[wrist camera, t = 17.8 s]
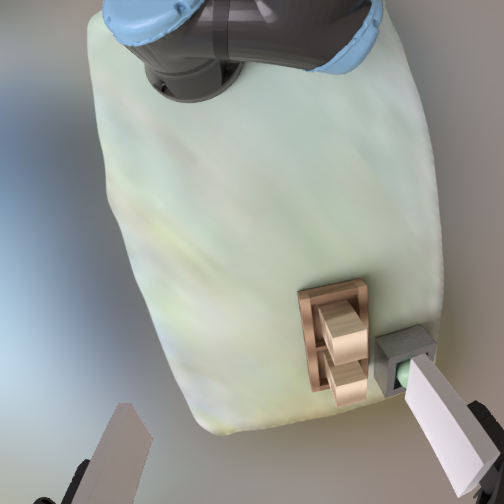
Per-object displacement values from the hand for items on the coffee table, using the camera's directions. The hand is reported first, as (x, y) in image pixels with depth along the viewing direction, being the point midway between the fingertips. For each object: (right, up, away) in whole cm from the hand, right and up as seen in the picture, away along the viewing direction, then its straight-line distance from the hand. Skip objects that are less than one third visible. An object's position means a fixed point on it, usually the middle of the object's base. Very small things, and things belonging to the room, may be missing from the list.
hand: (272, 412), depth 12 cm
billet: (+13, -4, +36) cm, 38 cm away
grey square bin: (+28, -13, +40) cm, 50 cm away
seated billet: (+15, -12, +38) cm, 43 cm away
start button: (+28, -14, +34) cm, 46 cm away
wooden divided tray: (+14, -8, +38) cm, 41 cm away
